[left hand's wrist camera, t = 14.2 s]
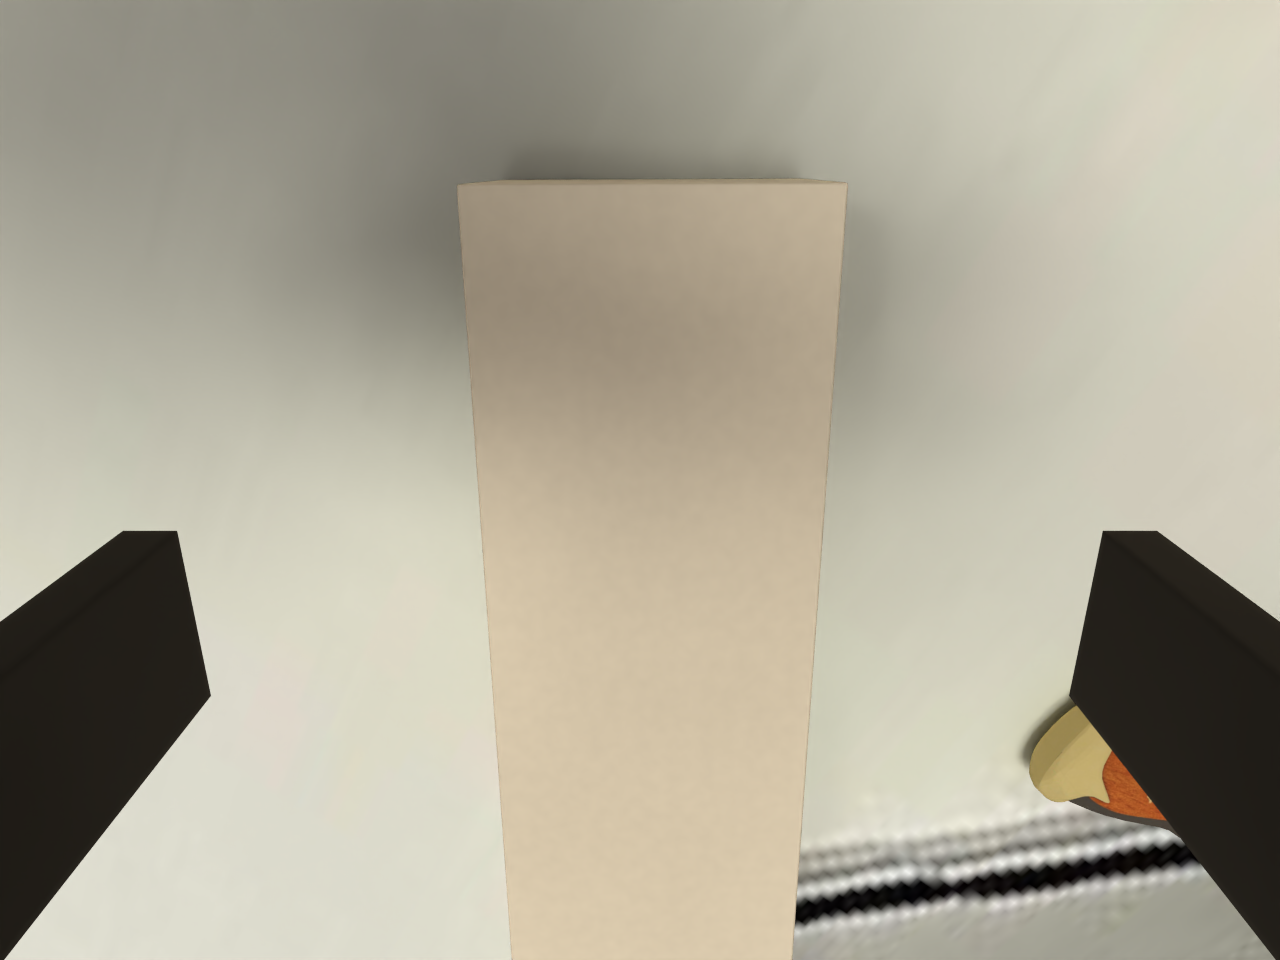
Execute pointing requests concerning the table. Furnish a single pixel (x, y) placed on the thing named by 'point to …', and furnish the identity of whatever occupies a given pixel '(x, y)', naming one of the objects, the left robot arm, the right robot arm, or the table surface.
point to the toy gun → (1089, 773)
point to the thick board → (652, 548)
